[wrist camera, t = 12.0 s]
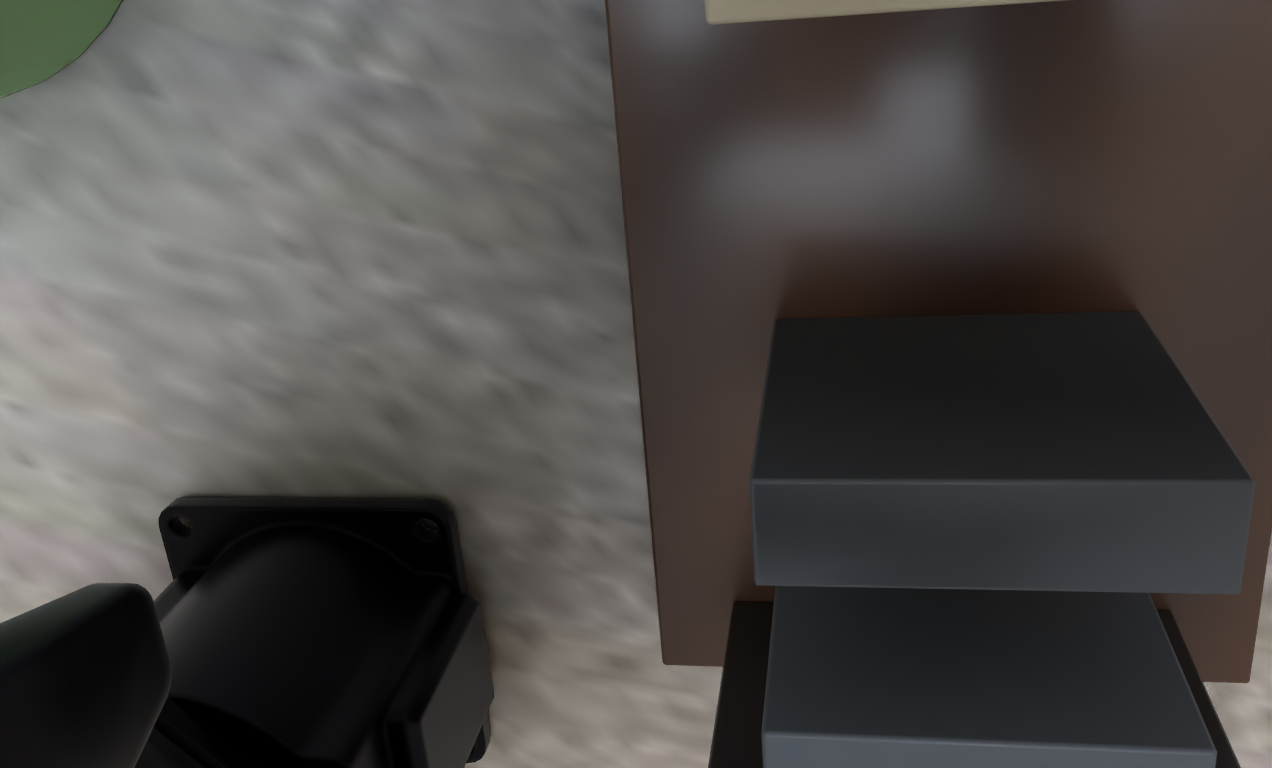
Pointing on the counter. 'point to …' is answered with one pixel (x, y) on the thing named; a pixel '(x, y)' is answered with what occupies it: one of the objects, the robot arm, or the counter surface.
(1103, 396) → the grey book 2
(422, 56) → the counter surface
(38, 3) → the mug
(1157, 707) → the grey book
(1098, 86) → the book rack
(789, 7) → the cream book
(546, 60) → the counter surface
